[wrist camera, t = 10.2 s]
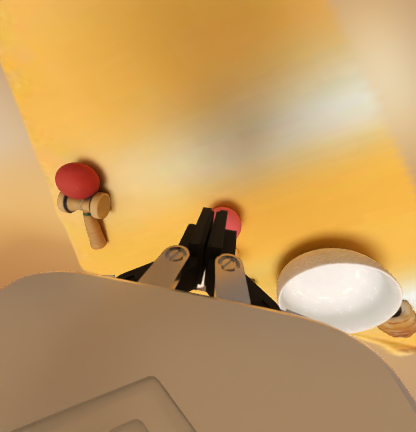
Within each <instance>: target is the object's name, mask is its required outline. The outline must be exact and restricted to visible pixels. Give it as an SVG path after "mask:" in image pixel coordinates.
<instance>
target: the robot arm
mask: <svg viewBox="0 0 416 432" xmlns="http://www.w3.org/2000/svg"><path fill="white" fill-rule="evenodd" d="M227 215H228V211H227V210H220V212H219V211H217V212H216V216H215V219H214V211H212V208H205V207H204V208H203V210H202V212H201V215H200V217H199V219H198V222H197V224H196V225H195V224H189V225H188V227H187V229H186V231H185V233H184V235H183V237H182V239H181V241H180V243H179V245H173V246H170V247H168V248H166V249H165V250H164V251H163V252H162V253H161V255H160V256H159V257H158V258H157V259H156V260H155V261H154V262H152V263H149V264H146V265H144V266H141V267H139V268H136V269H133V270H131V271H128V272H126V273H123V274H121V275H119V276H118V277H115V275H95V274H89V273H82V272H72V271H51V272H43V273H37V274H32V275H28V276H25V277H22V278H20V279H17V280H15V281H14V282H11V283H10V284H8V285H6V286H4V287H3V288H1V289H0V432H416V402H415V400H414V398H413V397H412V396H411V394H410V393H409V391H408V390H407V388H406V387H405V385H404V384H403V383H402V381H401V380H400V378H399V377H398V376H397V374H396V373H395V372H394V370H393V369H392V368H391V367H390V366H389V364H388V363H387V362H386V361H385V360H384V359H383V358H382V357H381V356H380V355H379V354H378V353H377V352H376V351H375V350H373V349H372V348H371V347H369V346H368V345H367V344H365V343H364V342H362V341H360V340H359V339H357V338H356V337H354V336H352V335H350V334H348V333H346V332H344V331H342V330H340V329H338V328H336V327H333V326H331V325H329V324H326V323H324V322H321V321H318V320H314V319H311V318H308V317H306V316H303V315H301V314H298V313H296V312H293V311H291V310H288V309H286V311H284V310H282V309H280V307H279V306H278V305H277V304H276V302H275V301H273V300H272V299H271V298H270V297H269V296H268V295H267V294H266V293H265V292H264V291H263V290H262V289H261V288H259V287H258V286H257V285H256V284H255V283H254V282H253V281H252V280H251V279H250V278H249V277H248V276H247V275H246V274H245V272H244V267H243V263H242V261H241V260H240V258H238V257H237V256H235V252H236V235H237V231H234V230H228V229H226V222H227ZM213 222H214V223H213ZM204 272H205V276H204ZM203 276H204V286H206V292H207V293H208V295H209V296H205V295H200V294H195V293H190V292H189V291H191V290H193V289H194V290H197V286H198V284H199V285H201V284H202V280H203Z"/></svg>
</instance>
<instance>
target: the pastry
mask: <svg viewBox="0 0 416 432" xmlns="http://www.w3.org/2000/svg"><path fill="white" fill-rule="evenodd" d="M377 327H378V328H379V329H380V330H382V331H383V332H385V333H387V334H388V335H390V336H392V337H405V338H406V337H410V336H412V335H413V333H415V332H416V313H415V312H414V311H413V310H412V308H411V305H410V304H409V303H407V302H404V301H402V303H401V306H400V308H399V309H398V311H397V312H396V313H395V314H394V315H393V316H392V317H391V318H390V319H388V320H387V321H386V322H384V323H382V324H380V325H378V326H377Z"/></svg>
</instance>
